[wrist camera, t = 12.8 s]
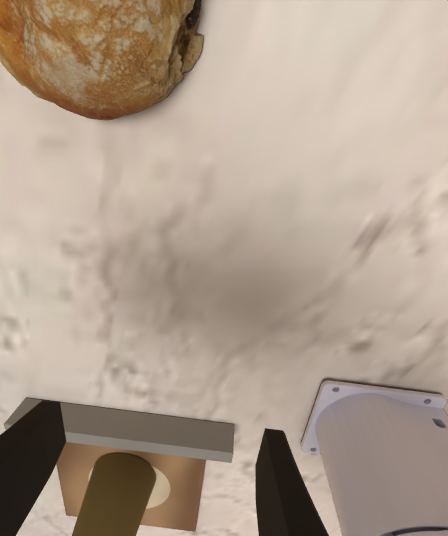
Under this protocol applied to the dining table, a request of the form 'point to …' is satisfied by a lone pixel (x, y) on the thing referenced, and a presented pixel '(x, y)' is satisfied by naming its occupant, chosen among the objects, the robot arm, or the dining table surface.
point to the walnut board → (163, 494)
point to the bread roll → (100, 51)
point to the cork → (115, 496)
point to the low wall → (141, 431)
